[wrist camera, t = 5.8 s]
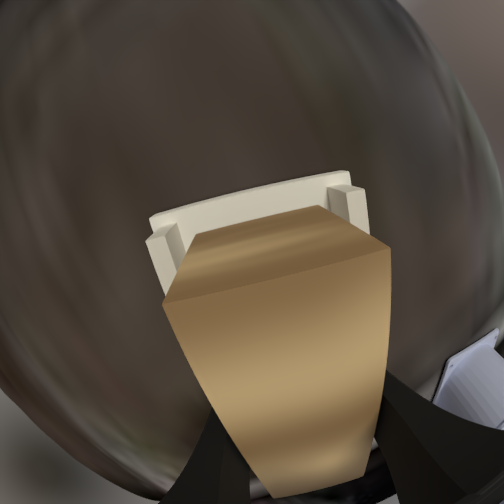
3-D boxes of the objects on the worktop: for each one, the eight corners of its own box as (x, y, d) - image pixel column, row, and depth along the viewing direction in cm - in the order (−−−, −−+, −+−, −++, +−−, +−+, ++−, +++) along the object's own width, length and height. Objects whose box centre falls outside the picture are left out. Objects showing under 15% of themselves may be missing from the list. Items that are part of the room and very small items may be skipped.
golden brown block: (338, 409, 13) (363, 475, 9) (264, 427, 14) (273, 498, 9) (317, 204, 10) (390, 247, 5) (195, 234, 10) (162, 304, 5)
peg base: (356, 376, 17) (372, 407, 14) (230, 406, 17) (231, 442, 14) (341, 170, 12) (371, 174, 9) (155, 214, 12) (132, 231, 9)
